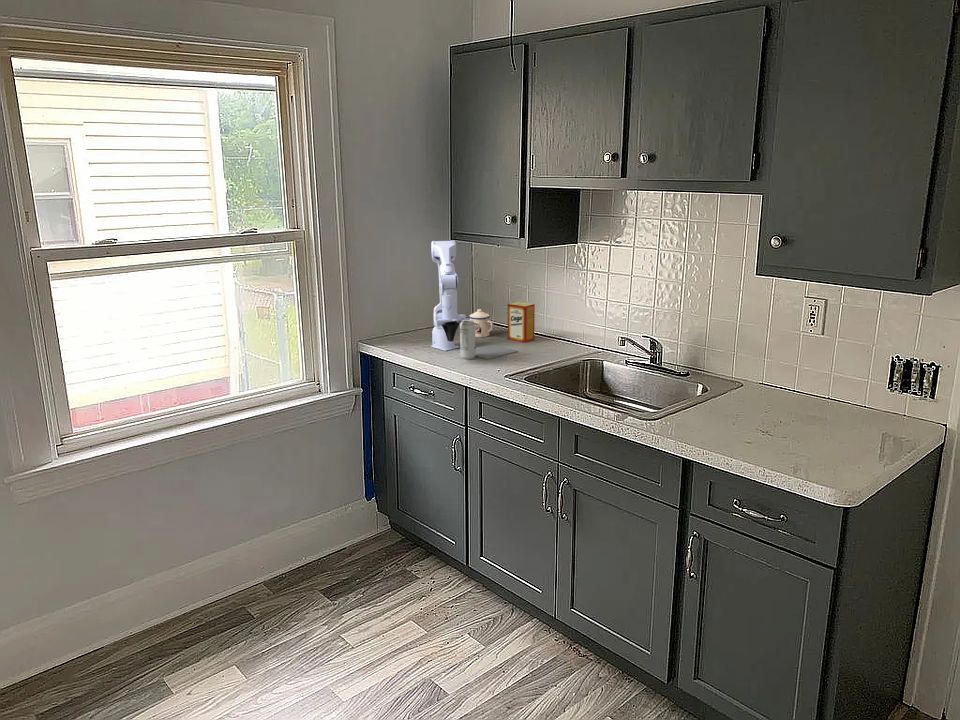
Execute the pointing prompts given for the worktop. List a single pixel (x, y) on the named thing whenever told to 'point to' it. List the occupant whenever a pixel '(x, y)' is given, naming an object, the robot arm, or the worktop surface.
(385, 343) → the worktop surface
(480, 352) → the mat
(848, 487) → the worktop surface
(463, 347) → the energy drink can
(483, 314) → the teacup with lid
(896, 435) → the worktop surface
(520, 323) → the baking soda box
